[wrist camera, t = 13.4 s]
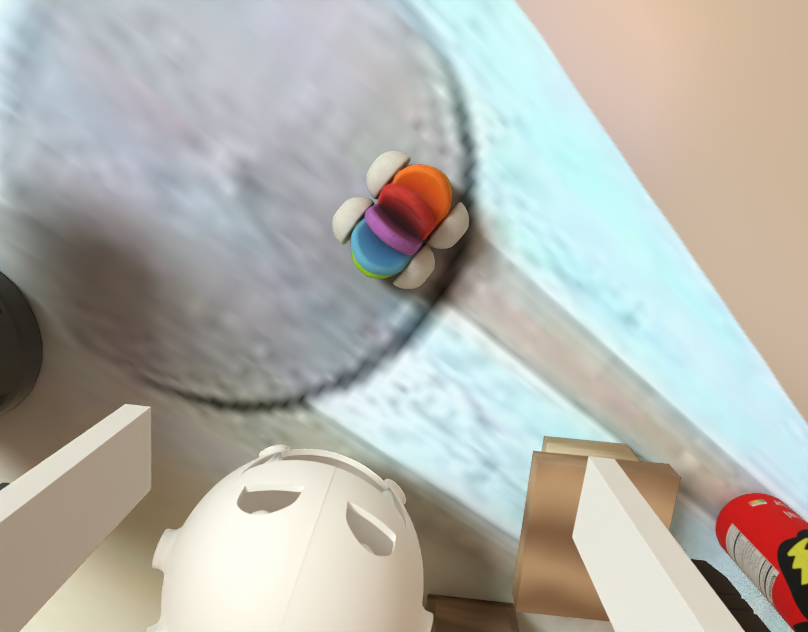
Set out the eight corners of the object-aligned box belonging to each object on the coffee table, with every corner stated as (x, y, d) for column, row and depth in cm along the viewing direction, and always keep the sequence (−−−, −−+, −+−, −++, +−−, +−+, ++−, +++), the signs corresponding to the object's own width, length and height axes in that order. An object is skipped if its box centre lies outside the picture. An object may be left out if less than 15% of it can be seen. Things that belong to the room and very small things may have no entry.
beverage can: (774, 554, 46) (894, 675, 34) (702, 547, 46) (797, 666, 34) (791, 490, 44) (923, 594, 32) (717, 483, 44) (821, 584, 33)
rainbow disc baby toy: (482, 207, 40) (493, 208, 33) (404, 300, 42) (400, 320, 35) (399, 137, 40) (392, 122, 33) (323, 235, 42) (302, 241, 34)
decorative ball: (463, 449, 45) (488, 633, 26) (401, 607, 49) (383, 869, 29) (244, 377, 44) (104, 510, 25) (199, 542, 48) (47, 766, 29)
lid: (638, 606, 43) (655, 637, 40) (512, 592, 43) (518, 623, 40) (668, 464, 40) (688, 486, 37) (533, 450, 40) (541, 471, 37)
